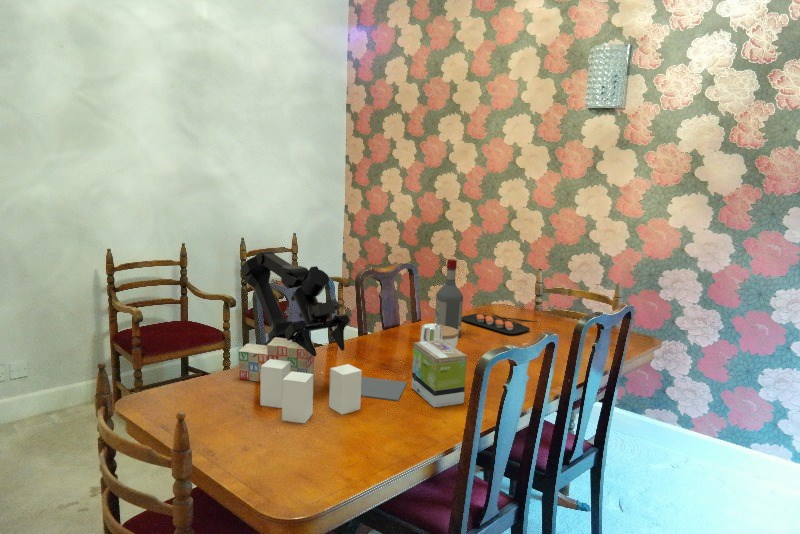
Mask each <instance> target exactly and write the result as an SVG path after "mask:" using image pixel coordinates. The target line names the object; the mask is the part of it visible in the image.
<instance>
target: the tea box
mask: <svg viewBox="0 0 800 534" xmlns="http://www.w3.org/2000/svg"><path fill="white" fill-rule="evenodd" d="M412 349H413V350H412V351H413V352H412V353H413V354H412V373H411V374H412V375H411V389H412V390H413V391H415V392H416V393H417V394H418V395H419V396H421V397H422V398H423V400H425V402H427V403H428V404H429V405H430V406H431V407H432V406H433V407H434V408H435V407H437V408H443V407H442V406H444V407H449V405H450V406H457V405H462V404H464V403H465V391H466V390H465V388H466V376H467V374H466V373H467V360H468V359H467V358H468V355H467V354H465V353H464V352H462V351H461V350H459V349H458V348H457V347H456V348H455V347H453V346H451V345H450V344H448V343H447V342H445V341H444V340H442V339H441V340H433V341H424V342H420V341H417V342H416V341H414V342H413V348H412ZM433 407H432V408H433ZM434 408H433V409H434ZM435 409H436V408H435Z"/></svg>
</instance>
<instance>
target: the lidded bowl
mask: <svg viewBox="0 0 800 534" xmlns="http://www.w3.org/2000/svg"><path fill="white" fill-rule="evenodd" d="M440 325H441V326H442V340H444V341H445V342H447V343H448V344H450V345H451V346H453V347H455V348H456V349H457V345H458V340H459V337H458V335H459V331H458V330H457V329H455V328H453V327H449V326H443V325H442V324H440Z"/></svg>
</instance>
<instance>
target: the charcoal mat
mask: <svg viewBox="0 0 800 534" xmlns="http://www.w3.org/2000/svg"><path fill="white" fill-rule="evenodd" d="M407 385H408V382H407V381H401V380H392V379H382V378H376V377H375V378H374V377H367V376H362V378H361V398H362V397H363V398H368V399H369V398H370V399H371V398H372V399H377V400H378V399H379V400H386V401H394V402H399V401H400V398H401V397H402V394H403V392H404V390H405V389H406V386H407Z"/></svg>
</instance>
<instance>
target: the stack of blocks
mask: <svg viewBox="0 0 800 534" xmlns="http://www.w3.org/2000/svg"><path fill="white" fill-rule="evenodd" d="M312 343H313V346H314V347H315V342H314V341H312ZM269 359H273V360H282V361H290V362H291V365H290V372H291V371H292V372H301V373H309V374H313V381H314V379H315V370H314V369H315V357H314V356H313V355H311V354H310V353H309V352H308V351H307V350H305V349H304V348H303V347H302V346H300V345H299V344H297V343H296V342H292V340H289V341H288V340H287V338H285V339H284V338H277V337H275V338H274V339H273V340H272V341H271V342H270V343H269V344H268V345H267V346H266V345H265V344H255V343H249V342H248V343H246V344H245V345H244V346H243V347H242V348H241V349H239V350H238V368H239V380H247V381H252V382H259V383H261V366H262V365H263V364H264V363H266V362H267V361H268V360H269Z"/></svg>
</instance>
